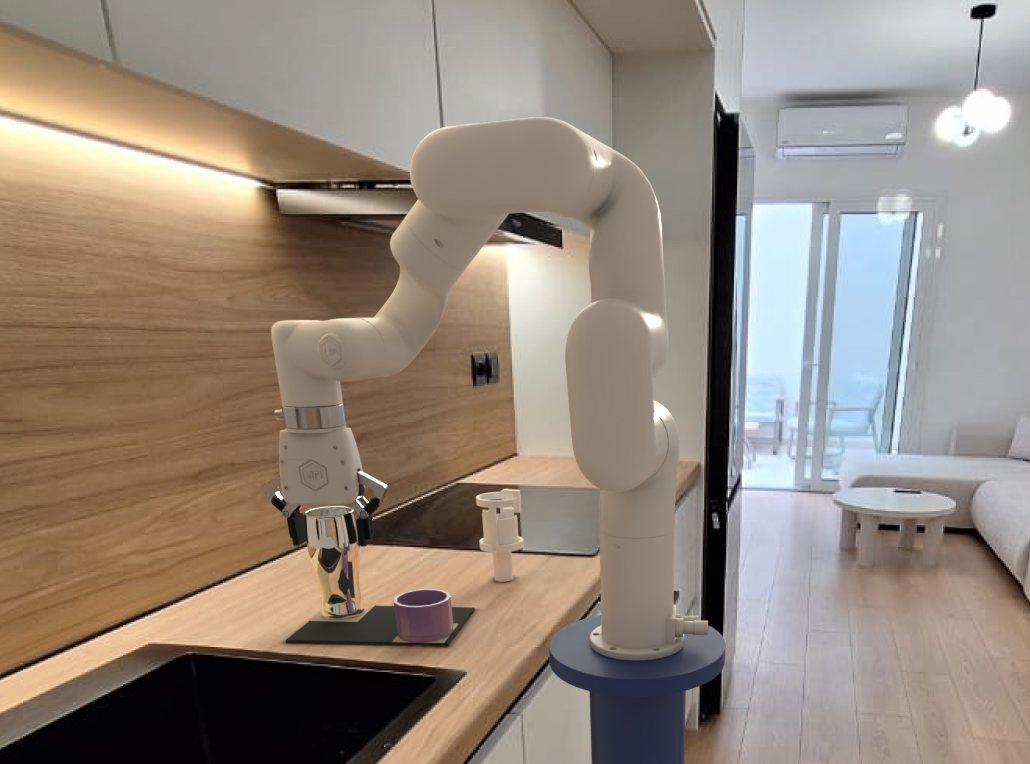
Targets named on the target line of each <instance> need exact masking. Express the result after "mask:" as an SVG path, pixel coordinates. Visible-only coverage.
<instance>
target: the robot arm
mask: <svg viewBox="0 0 1030 764" xmlns="http://www.w3.org/2000/svg"><path fill="white" fill-rule="evenodd" d="M409 178H410V184H411V187H412V190H413V192H414V194H415V196H416V198H417V200H416V202H415V203H414V204H413V206H412V207H411V208H410V210H409V211H408V212H407V214H406V215H405V216H404V217H403V220H402V221H401V222H400V224H399V225H398V226H397V227H396V229H395V230H394V232H393V233H392V235H391V236H390V241H389V247H390V248H389V249H390V251H391V254H392V256H393V258H394V259H395V261H396V262H397V264H398V265H399V276H398V280H397V282H396V286H395V287H394V289H393V291H392V292H391V294H390V296H389V297H388V299H387V300H386V301H385V302H384V304H383V305H382V307H381V308H380V309H379V311H377V313H376V314H375V315H374V316H373V317H346V318H343V317H342V318H332V319H326V320H318V319H313V320H312V319H288V320H286V319H285V320H278V321H276V322H274V323H273V324H272V326H271V329H270V337H271V343H272V349H273V356H274V362H275V368H276V375H277V381H278V388H279V394H280V400H281V405H280V406H281V407H280V409H275V410H274V413H273V415H274V418H275V420H277V421H282V422H283V426H284V427H285V429H280V430H279V437H278V466H279V475H277V476H275V477H274V478H272V479H271V480H269V481H268V482H265V483H264V484H263V485H262V486H261V488H262V490H263V492H264V493H265V495H266V496H267V497H268V499H269V500H270V501H271V504H272V506H274V508H276V509H277V510H278V511H279V512H280V513H281V516H282V517H283V518H285V519H286V522H287V528H288V534H289V538H290V539H291V540H292V546H294V547H299V546H300V545H302V544H305V543H307V542H306V534H305V519H304V512H301V509H302V508H303V506H305V507H306V506H307V507H309V506H310V507H328V506H349V507H351V508H352V509H353V510H354V513H356V515H358V518H355V519H356V525H357V532H358V540H359V545H360V548H361V547H362V548H366V547H367V546H368V545H370V544H371V543H372V542H373V540H374V538H375V528H374V521H373V514H375V512H376V511H377V510H378V508H380V506H381V505H383V502H384V498H385V497H386V494H387V492H388V491H389V490H388V489H389V485H388V484H386V483H385V482H383V481H381V480H379V479H377V478H375V477H374V476H371V475H369V474H368V473H366V472H364V470H363V465H362V460H361V456H360V452H359V449H358V446H357V445H358V444H357V442H356V439H355V436H354V434H353V431H352V428H351V427H347V423H346V416H345V415H346V414H345V408H344V401H343V393H342V386H341V382H343V383H346V382H347V383H350V382H351V383H352V382H361V381H368V380H371V379H380V378H387V377H392V376H395V375H397V374H399V373H400V372H402V371H403V370H405V369H406V368H407V367H408V366H409V365H411V364H412V363H413V361H414V360H415V358H416V357H418V355H419V354H420V352H421V351H422V350H423V349H424V348H425V346H426V345H427V344H428V342H429V341H430V340H431V339H432V337H433V336H434V334H435V333H436V331H437V330H438V328H439V326H440V324H441V322H442V320H443V317H444V313H445V311H446V308H447V305H448V302H449V297H450V292H451V290H452V288H453V287H454V286H455V284H456V283H457V281H458V280H459V279H460V277H461V276H462V275H463V273H464V272H465V271H466V270H467V268H468V267H469V265H470V264H471V263H472V261H473V260H474V259H475V257H477V255H478V254H479V252H480V251H481V250H482V248H483V247H485V245H486V244H487V243H488V241H489V240H491V237H492V236H493V235H494V234H495V233H496V231H497V230H498V228H500V226H501V225H502V224H503V223H504V221H505V220H506V218H507V217H508V216H509V215H510V214H524V213H547V214H551V215H554V216H558V217H561V218H566V219H568V220H569V219H570V220H573V221H576V222H577V221H578V222H580V223H582V224H584V225H585V226H586V227H587V229H588V232H589V239H590V240H589V250H588V275H589V281H590V297H591V299H590V300H591V301H590V304H588V305H586V306H585V307H584V308H582V310H581V311H579V312H578V314H576V316H575V318H574V319H573V321H572V323H571V325H570V327H569V330H568V333H567V337H566V343H565V354H564V355H565V356H564V357H565V359H564V360H565V361H564V362H565V373H566V374H565V375H566V386H567V399H568V409H569V410H568V411H569V422H570V432H571V433H570V434H571V444H572V449H573V455H574V459H575V462H576V464H577V466H578V469H579V470H580V473H581V474H582V475H583V476H584V477H585V479H587V481H588V482H589V483H590V484H592V485H593V486H594V487H596V488H598V489H599V500H598V532H599V534H598V537H599V541H598V542H599V577H600V578H599V579H600V581H599V582H600V584H599V585H600V615H601V626H599V627H597V628H596V629H594V630H593V631H592V632H591V634H590V645H591V647H592V648H593V649H594V650H595V651H596V652H598V653H599V654H601V655H604V656H607V657H610V658H614V659H620V660H629V661H645V660H654V659H660V658H664V657H667V656H670V655H672V654H675V653H676V652H678V651H679V650H681V649H682V647H683V646H684V644H685V635H684V634H694V635H708V625H709V621H708V620H699V615H682V613H677V604H675V603H674V601H675V599H674V598H675V597H674V595H675V592H674V591H675V528H676V527H675V526H676V492H677V479H678V469H679V460H680V434H679V429H678V426H677V423H676V420H675V418H674V416H673V415H672V413H671V412H670V410H668V409H667V407H666V406H664V405H663V404H662V403H660V402H659V401H657V400H655V399H654V383H653V382H654V380H653V379H654V378H655V377H656V376H657V375H659V374H660V373H661V371H662V370H663V368H664V367H665V365H666V363H667V361H668V356H669V351H670V339H669V328H668V315H667V293H666V291H667V289H666V276H665V266H664V265H665V263H664V245H663V243H664V242H663V226H662V217H661V211H660V207H659V206H660V205H659V202H658V199H657V196H656V193H655V190H654V188H653V186H652V184H651V182H650V180H649V179H648V177H647V176H646V175H645V173H644V172H643V170H642V169H641V168H640V167H639V166H638V165H637V164H636V163H635V162H633V161H632V160H631V159H630V158H628V157H626V156H625V155H624V154H622V153H621V152H619V151H617V150H616V149H614V148H612V147H610V146H608V145H606V144H604V143H603V142H601V141H599V140H597V139H596V138H594V137H593V136H591V135H589V134H587V133H585V132H584V131H582V130H581V129H579V128H577V127H576V126H574V125H572V124H570V123H569V122H566V121H564V120H562V119H558V118H554V117H549V116H547V117H546V116H533V117H531V116H530V117H521V118H514V119H505V120H496V121H486V122H476V123H475V122H474V123H464V124H457V125H456V124H455V125H449V126H443V127H439V128H438V129H435V130H433V131H431V132H430V133H428V134H426V135H425V136H424V137H423V138H422V139H421V140H420V141H419V143H418V144H417V145H416V147H415V149H414V152H413V153H412V157H411V160H410V165H409ZM280 487H281V492H280V490H279V489H280ZM366 488H369V489H370V490H372V492H373V495H372V497H371V499H369V501H368V500H367V498H366V497H365V496H366ZM281 493H282V494H281Z"/></svg>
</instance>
